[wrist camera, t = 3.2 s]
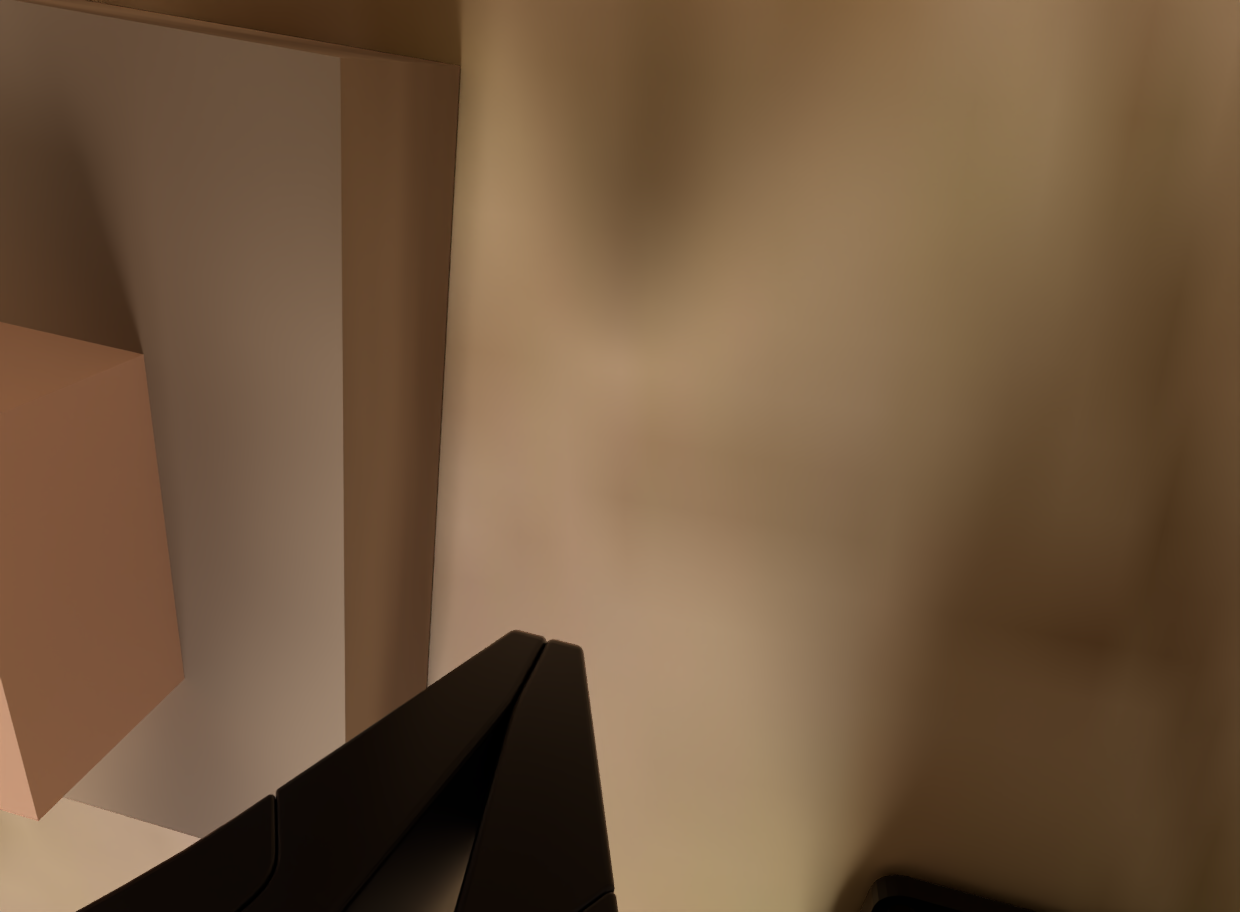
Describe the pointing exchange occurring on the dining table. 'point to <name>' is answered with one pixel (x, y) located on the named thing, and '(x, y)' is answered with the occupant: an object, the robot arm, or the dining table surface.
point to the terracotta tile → (77, 563)
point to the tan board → (248, 360)
